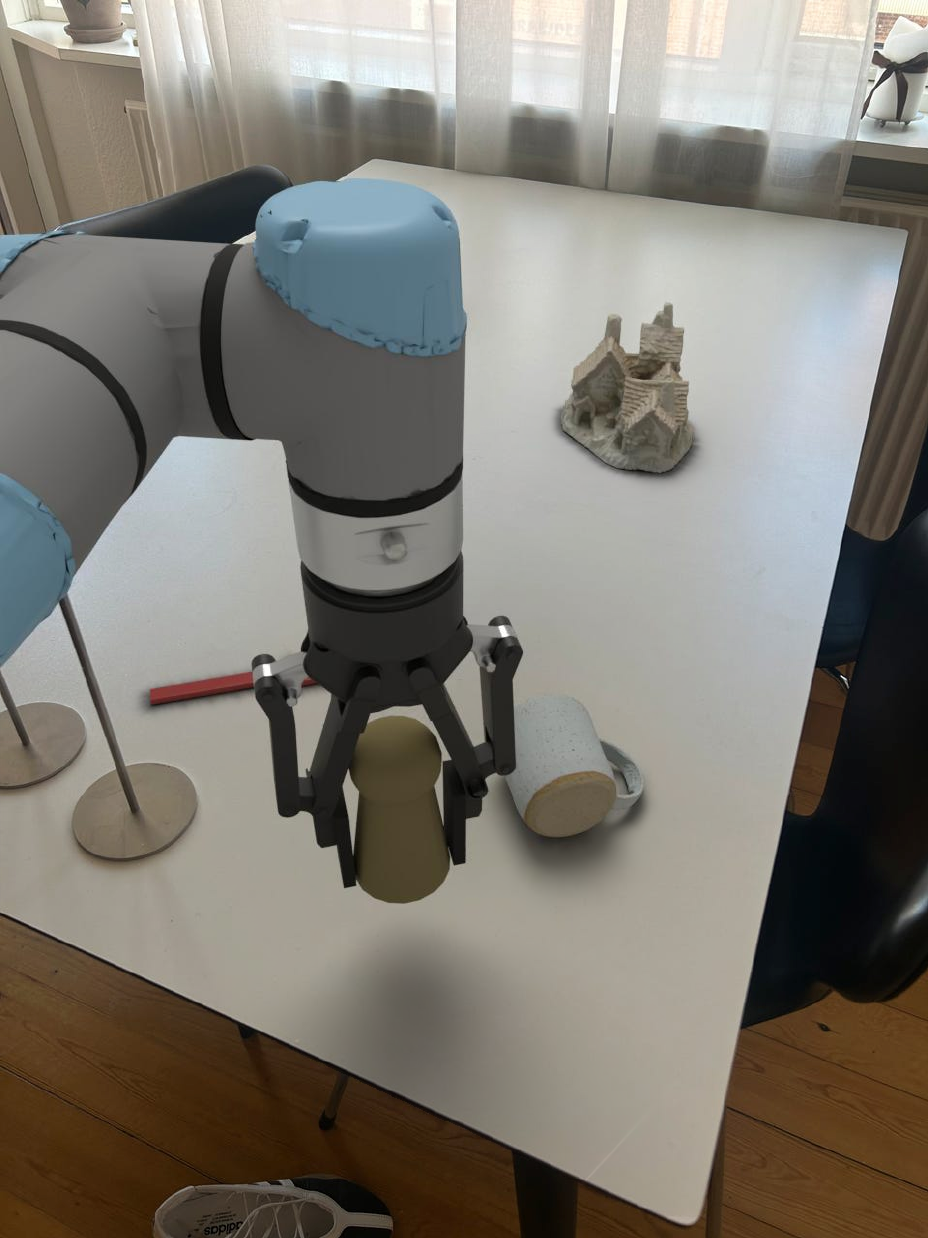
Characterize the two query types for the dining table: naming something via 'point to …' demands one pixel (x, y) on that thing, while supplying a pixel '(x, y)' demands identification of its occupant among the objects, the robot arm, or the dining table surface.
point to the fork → (205, 687)
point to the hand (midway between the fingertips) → (401, 857)
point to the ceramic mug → (566, 768)
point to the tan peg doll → (398, 811)
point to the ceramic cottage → (632, 398)
